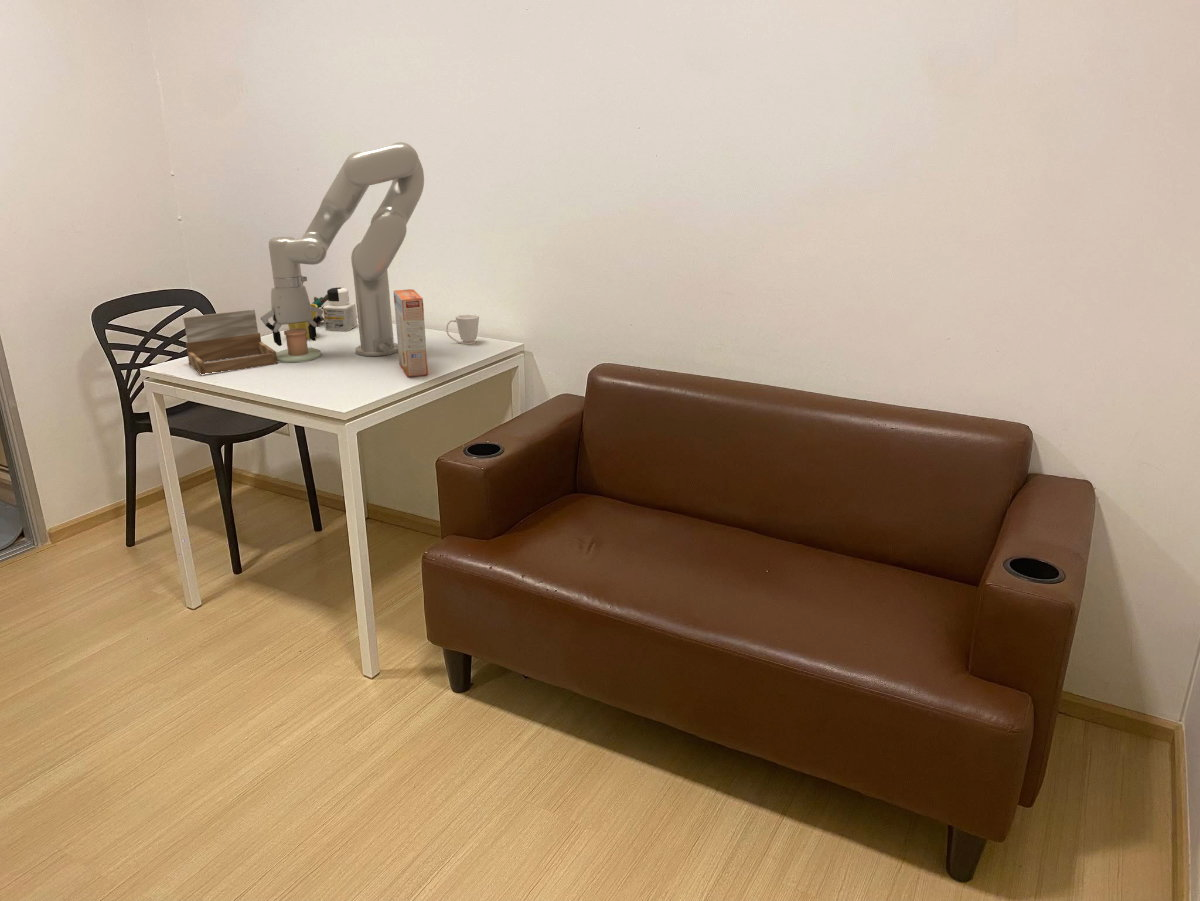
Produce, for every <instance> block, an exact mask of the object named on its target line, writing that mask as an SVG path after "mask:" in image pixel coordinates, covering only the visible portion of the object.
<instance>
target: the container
mask: <svg viewBox="0 0 1200 901" xmlns="http://www.w3.org/2000/svg"><path fill="white" fill-rule="evenodd" d="M326 292H327V293H326V295H327V296H328V300H327V303H328V304H327V305H323V306H324V307H323V306H322V307H323V309H322V310H323V318H324V320H325V322H324V325H325V326H324V327H325V331H327V330H330V331H329V332H331V331H333V332H334V331H335V332H350V331H351V330H352V328H353V329H354V327H355V326H356V327H358V315H357V306H356V302H350V295H349V289H347V288H346V287H331V288H329V289H328V290H327V291H326ZM356 327H355V328H356Z"/></svg>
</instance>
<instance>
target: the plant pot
mask: <svg viewBox="0 0 1200 901" xmlns="http://www.w3.org/2000/svg"><path fill="white" fill-rule="evenodd" d="M310 305H311V306H313V307H316V308H318V306H317V305H316V304H312V303H310ZM311 312H312V320H313V319H314V317H315V316H316V312H314V311H312V310H311ZM287 326H288V329H293V328H304V329H307V333H306V338H307V340H311V339H310V337H309V329H308V326H309V323H308V322H307V321H306V322H300V323H293V324H287Z"/></svg>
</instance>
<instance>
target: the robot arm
mask: <svg viewBox="0 0 1200 901" xmlns="http://www.w3.org/2000/svg"><path fill="white" fill-rule="evenodd" d="M386 182H391V184H390V186H389V188H388V190H387V192H386V194H385V197H384V198H383V200H382V202H381V203H380V205H379V207H378V209H377V210H376V211H375V213H373V215H372V217H371V220H370V225H369V227H368V228H367V230H366V233H365V234H364V236H363V238H362V239H361V241H360V242H359V243H357V245H355V246H354V247H353V250H352V252H351V258H350V259H351V267H352V275H353V282H354V283H353V284H354V295H355V306H356V316H357V325H358V330H359V331H358V332H359V339H360V340H359V341H360V345H358V346H356V348H355V353H356V354H357V355H360V356H365V357H381V356H382V357H383V356H388V355H392V354H396V353H397V352H398V343H395V340H394V330H393V318H392V307H391V305H392V304H391V298H390V297H391V295H390V294H391V293H390V284H389V282H390V281H389V274H388V268H389V267H391V266H390V265H391V264H392V262H393V260H394V258H395V257H396V256H397V253H398V251H399V250H400V248H401V246H402V244H403V242H404V241H405V238H406V236H407V229H408V228H407V224H408V222H409V221H410V219H411V217H412V215H413V213H414V211H415V209H416V207H417V206H418V203H419V201H420V199H421V197H422V194H423V192H424V185H425V174H424V168H423V164H422V162H421V159H420V158H419V155H418V152H417V150H416V149H415V148H414V147H413V146H412V145H411V144H408V143H407V142H401V141H399V142H395V143H393V144H391V145H389V146H386V147H382V148H378V149H377V148H376V149H374V150H368V151H363V152H361V151H356V152H352V153H351V154H349V155H348V156H347V158H346V160H345V161H344V163H343V164H342V166H341V167H340V168H339V170H338V173H337V174H336V176H335V178H334V179H333V181H332V183H331V185H330V186H329V188H328V190H327V191H326V193H325V195H324V197H323V198H322V200H321V203H320V206H319V207H318V210H317V212H316V214H315V215H314V217H313V219H312V220H311V222H310V223H309V225H308V227H307V229H306V230H305V232H304V234H303V235H302V237H301V238H295V237H293V236H276V237H271V238H270V239H269V241H268V250H269V257H270V259H269V260H270V264H271V271H272V280H273V285H274V286H273V287H272V288H271V290H270V291H271V292H270V301H271V303H270V305H271V306H270V308H271V309H270V310H269V311H268V312H266V313H265V314H264V315H262V316H261V317H260V320H261V321H262V323H263V324H264V326H265V327H267V329H268V330H270V331H272V336H273V343H274V344H276V346H279V347H282V346H283V343H282V334H281V332H280V331H279V330H280V328H281V327H282V325H288V324H293V323H300V322H306V321H307V322H308V323H309V326H308V329H309V337H310V339H309V340H310V341H313V342H315V341H316V338H317V327H318V325H317V324H318V322H319V321H320V320H321V316H322V317H323V315H324V312H323V309H320V307H319V308H316V307H313V306H311V305H310V304H311V302H310V297H309V295H308V291H307V288H306V285H304V283H305V282H307V281H308V277H307V275H306V276H303V275H302V270H301V265H302V264H303V265H312V266H313V265H318V264H321V263H323V261H324V260H325V259H326V257H327V252H328V251H329V248H330V247H331V244H332V243H333V241H334V240H335V238H336V236H337V235H338V233H339V231H340V230H341V229H342V227H343V225H344V224H345V223H346V222H347V221H348V220H349V219H351V217H352V215H353V214H354V213H355V211H356V208H357V207H358V205H359V204H360V202H361V200H362V199H363V198H364V196H365V195H366V192H367V191H368V189H369V187H370V186H372V185H377V184H382V183H386ZM311 310H312V311H314V312H316V316H315V317H314V319H313V320H312V312H311ZM270 318H272V321H273V323H270V321H269V319H270Z"/></svg>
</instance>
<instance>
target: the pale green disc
mask: <svg viewBox="0 0 1200 901" xmlns="http://www.w3.org/2000/svg"><path fill="white" fill-rule="evenodd" d="M276 356H277V363H278V362H279V363H287V364H291V363H292V364H294V363H295V364H296V363H304V362H309V361H315V360H317V359H319V358H321V357H322V351H321V349H319V348H314V347H308V353H307V354H305V355H299V356H291V355H288V348H287V349H286V348H285V349H283V350H279V351H276Z"/></svg>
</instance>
